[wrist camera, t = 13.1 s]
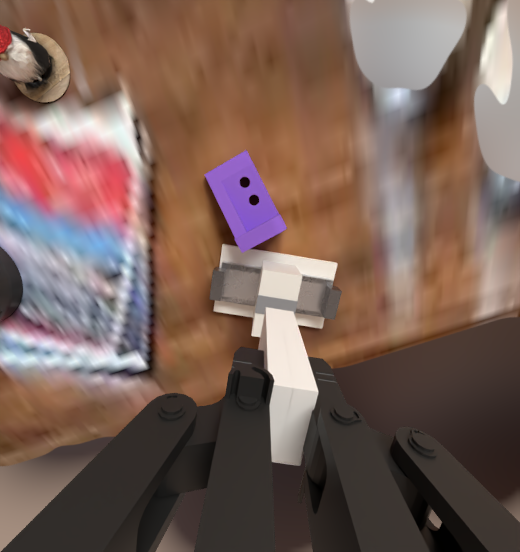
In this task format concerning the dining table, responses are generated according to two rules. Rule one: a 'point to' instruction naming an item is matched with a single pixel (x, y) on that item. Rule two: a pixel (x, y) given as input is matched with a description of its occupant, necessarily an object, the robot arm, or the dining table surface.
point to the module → (275, 291)
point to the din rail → (245, 279)
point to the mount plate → (257, 256)
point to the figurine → (34, 64)
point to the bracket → (245, 202)
